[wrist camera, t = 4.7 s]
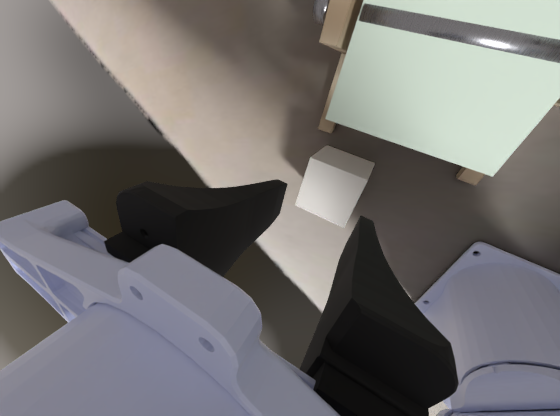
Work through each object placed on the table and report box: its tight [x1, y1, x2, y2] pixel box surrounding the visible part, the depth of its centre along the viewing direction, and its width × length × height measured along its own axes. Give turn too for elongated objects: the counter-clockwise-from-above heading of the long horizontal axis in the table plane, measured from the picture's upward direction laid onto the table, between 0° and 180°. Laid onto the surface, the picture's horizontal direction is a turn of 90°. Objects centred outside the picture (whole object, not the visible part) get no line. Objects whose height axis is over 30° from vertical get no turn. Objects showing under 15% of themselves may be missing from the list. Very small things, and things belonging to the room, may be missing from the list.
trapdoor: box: [325, 0, 560, 177], centre depth 10 cm, size 10×9×2 cm
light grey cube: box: [295, 145, 375, 228], centre depth 19 cm, size 4×4×4 cm
